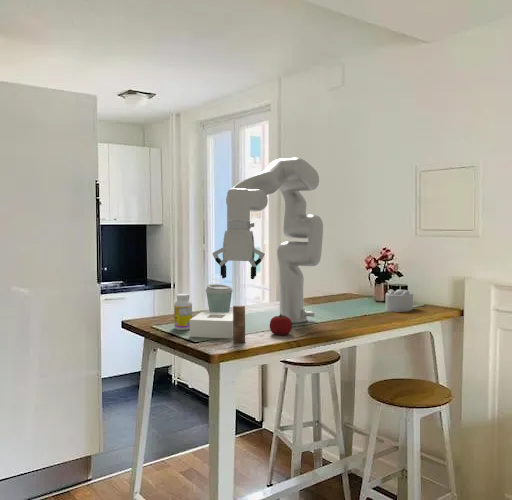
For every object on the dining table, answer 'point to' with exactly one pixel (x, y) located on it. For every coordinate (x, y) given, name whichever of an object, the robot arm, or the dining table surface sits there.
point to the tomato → (280, 325)
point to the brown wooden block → (238, 324)
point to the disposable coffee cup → (219, 298)
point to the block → (212, 325)
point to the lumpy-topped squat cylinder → (399, 301)
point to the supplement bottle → (182, 312)
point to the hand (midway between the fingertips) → (238, 278)
